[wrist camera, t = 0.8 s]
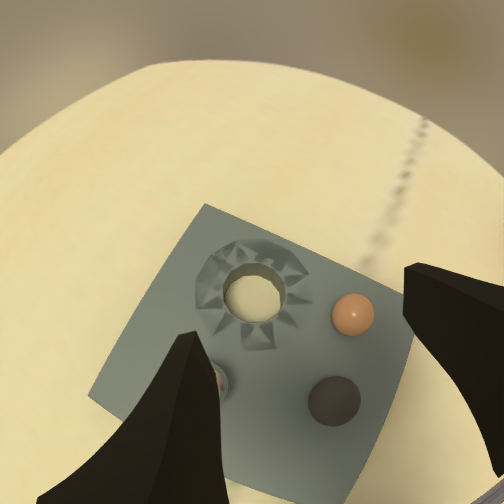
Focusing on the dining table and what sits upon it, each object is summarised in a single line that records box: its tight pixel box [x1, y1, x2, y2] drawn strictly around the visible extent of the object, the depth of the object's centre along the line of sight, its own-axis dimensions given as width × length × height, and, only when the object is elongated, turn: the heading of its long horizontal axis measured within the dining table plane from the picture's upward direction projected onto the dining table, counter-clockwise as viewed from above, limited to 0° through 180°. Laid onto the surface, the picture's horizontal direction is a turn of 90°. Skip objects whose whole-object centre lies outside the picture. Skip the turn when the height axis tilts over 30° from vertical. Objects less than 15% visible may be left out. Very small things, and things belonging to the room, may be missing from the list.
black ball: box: [308, 376, 361, 427], centre depth 17 cm, size 3×3×3 cm
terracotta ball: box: [332, 293, 374, 336], centre depth 20 cm, size 3×3×3 cm
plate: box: [88, 204, 414, 504], centre depth 21 cm, size 18×20×2 cm
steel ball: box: [211, 362, 228, 403], centre depth 17 cm, size 3×3×3 cm
